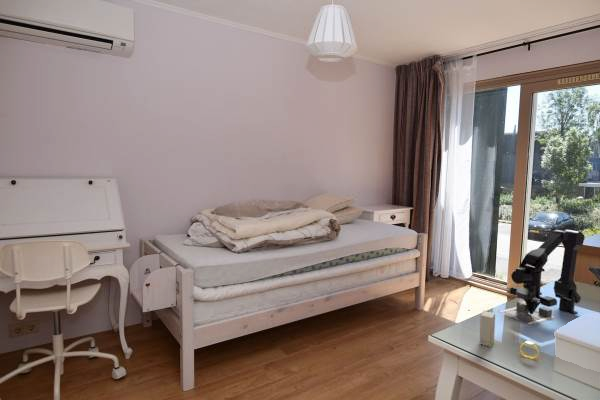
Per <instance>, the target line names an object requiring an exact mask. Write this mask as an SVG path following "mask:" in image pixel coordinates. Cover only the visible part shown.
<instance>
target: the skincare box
mask: <svg viewBox="0 0 600 400" xmlns="http://www.w3.org/2000/svg"><path fill="white" fill-rule="evenodd" d="M479 323H480V328H479V345H480V344H483V345H482V346H484V345H486V346H485V347H487V346H489V347H488V348H492V346H493V345H494V342H495V329H496V327H495V326H496V312H492V311H486V310H483V311H482V312H481V314H480V322H479Z"/></svg>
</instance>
